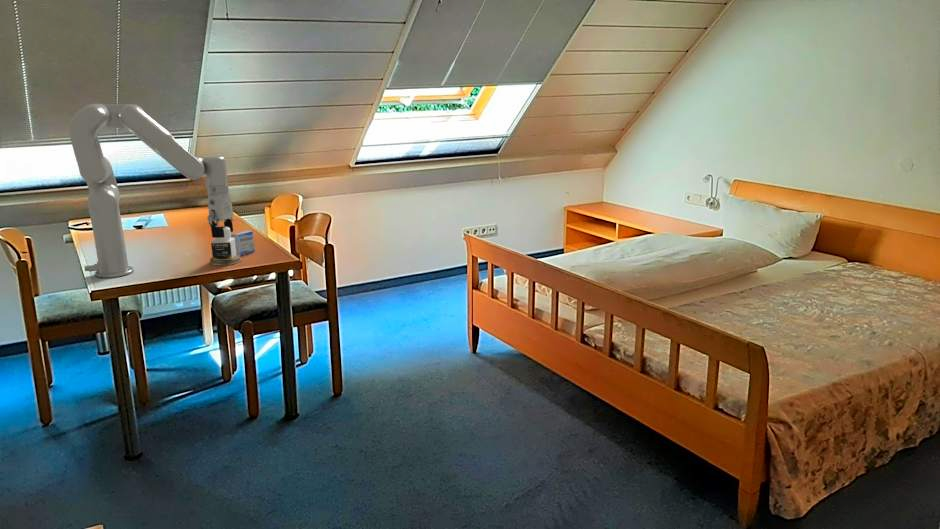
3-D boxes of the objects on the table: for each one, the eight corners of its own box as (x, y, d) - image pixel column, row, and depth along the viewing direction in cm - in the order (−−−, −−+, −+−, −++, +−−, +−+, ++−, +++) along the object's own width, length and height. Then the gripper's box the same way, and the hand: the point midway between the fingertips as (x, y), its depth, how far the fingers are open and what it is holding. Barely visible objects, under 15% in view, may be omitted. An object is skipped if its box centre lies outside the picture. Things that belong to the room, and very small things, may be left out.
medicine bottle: (212, 260, 263) (209, 229, 260) (218, 255, 270) (214, 225, 267) (232, 260, 264) (228, 229, 261) (236, 255, 271) (233, 225, 268)
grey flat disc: (213, 267, 260) (212, 263, 259) (207, 260, 269) (206, 256, 269) (244, 262, 266) (244, 258, 265) (237, 256, 275) (237, 252, 275)
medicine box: (240, 256, 275) (238, 235, 273) (232, 255, 277) (230, 233, 275) (255, 251, 282) (253, 231, 279) (247, 250, 284) (245, 230, 281)
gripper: (215, 193, 251) (220, 240, 256) (238, 186, 268) (242, 229, 272) (196, 193, 252) (201, 239, 257) (220, 185, 269) (225, 229, 273)
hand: (222, 234), depth 265 cm, fingers open, 9 cm apart
